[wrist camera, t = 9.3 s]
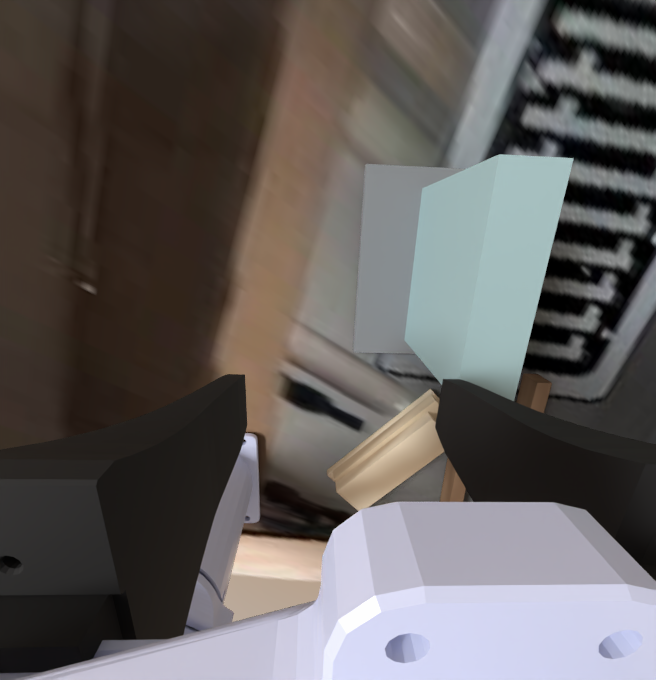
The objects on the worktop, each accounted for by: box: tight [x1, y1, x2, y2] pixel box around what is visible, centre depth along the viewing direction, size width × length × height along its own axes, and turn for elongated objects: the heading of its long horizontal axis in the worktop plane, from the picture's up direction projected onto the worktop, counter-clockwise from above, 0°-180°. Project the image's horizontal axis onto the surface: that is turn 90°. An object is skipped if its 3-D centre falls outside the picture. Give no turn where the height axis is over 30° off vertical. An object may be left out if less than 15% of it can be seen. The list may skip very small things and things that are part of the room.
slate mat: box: [353, 164, 465, 354], centre depth 20 cm, size 9×11×1 cm
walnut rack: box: [440, 374, 552, 502], centre depth 24 cm, size 5×12×2 cm, turn 178°
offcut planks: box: [327, 389, 444, 511], centre depth 23 cm, size 3×10×3 cm, turn 133°
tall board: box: [404, 154, 573, 401], centre depth 16 cm, size 2×9×8 cm, turn 178°
